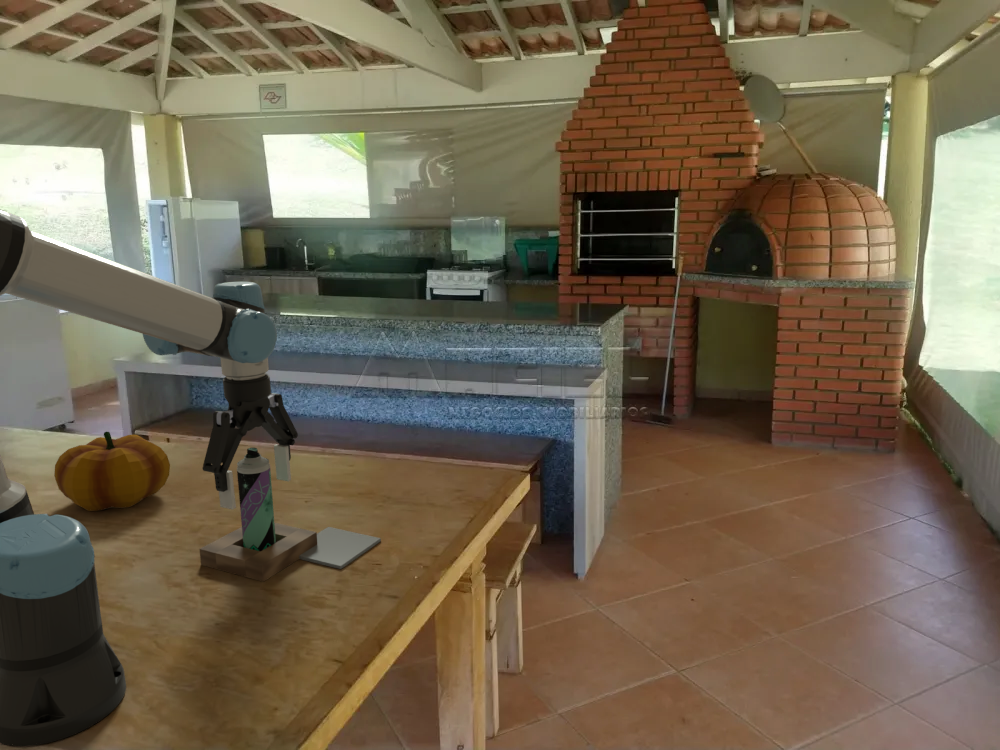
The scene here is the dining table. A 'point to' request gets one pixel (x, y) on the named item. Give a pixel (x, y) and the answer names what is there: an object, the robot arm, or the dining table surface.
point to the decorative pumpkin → (111, 472)
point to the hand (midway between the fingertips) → (257, 493)
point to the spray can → (256, 501)
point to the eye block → (258, 552)
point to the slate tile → (338, 547)
